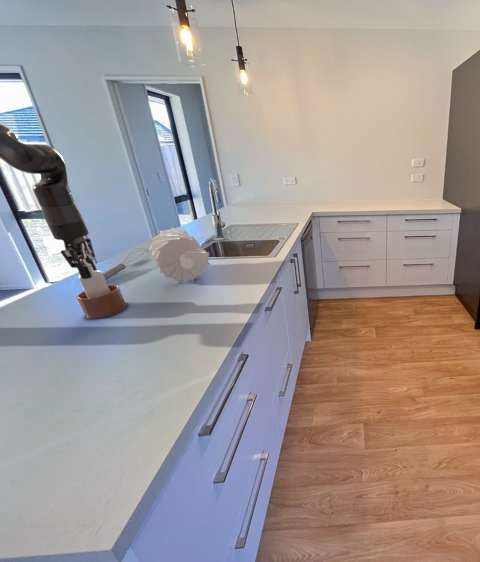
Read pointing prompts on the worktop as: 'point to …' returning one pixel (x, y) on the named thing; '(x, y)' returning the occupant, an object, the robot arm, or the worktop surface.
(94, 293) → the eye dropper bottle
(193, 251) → the spiral staircase
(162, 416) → the worktop surface
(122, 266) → the kitchen whisk
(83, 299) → the cup
